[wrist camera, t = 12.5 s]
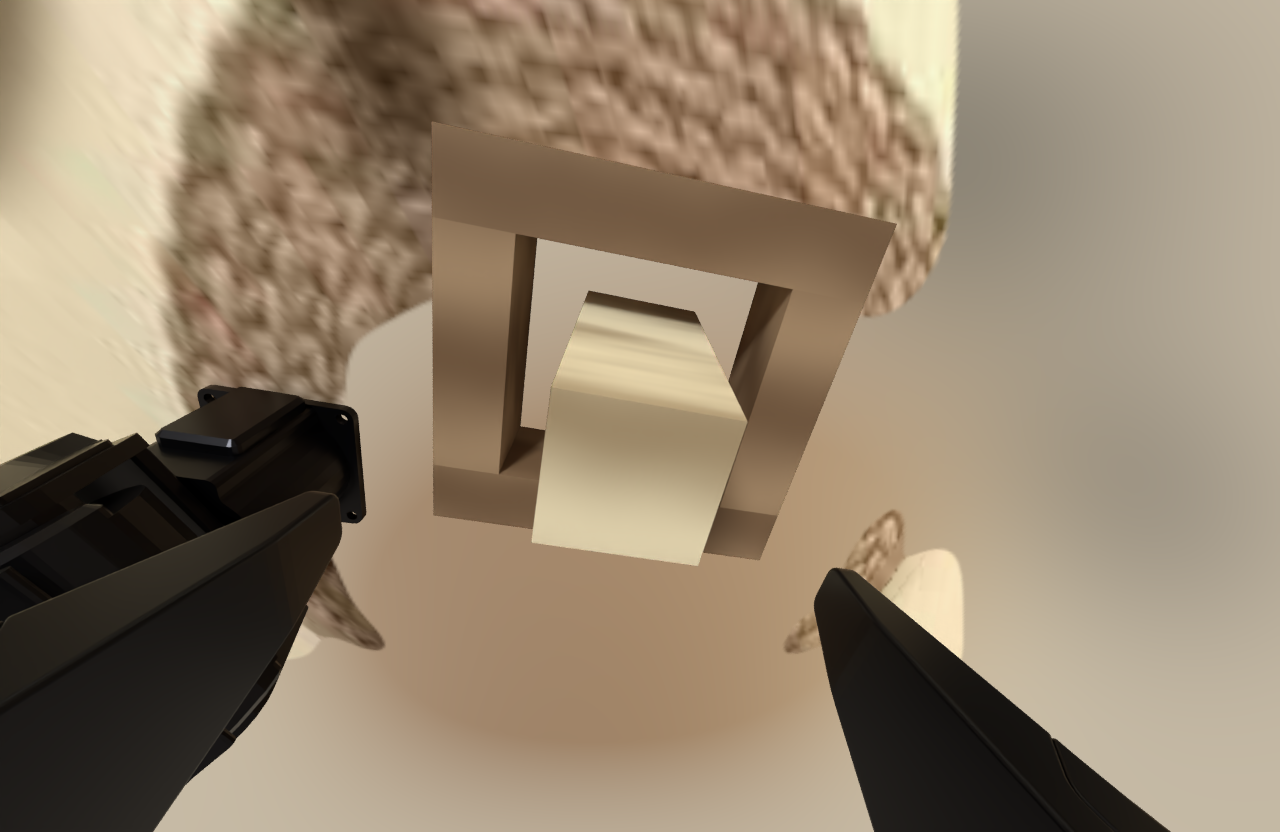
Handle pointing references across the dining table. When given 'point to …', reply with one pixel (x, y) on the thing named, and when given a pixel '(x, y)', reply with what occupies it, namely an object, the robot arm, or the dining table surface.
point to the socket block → (647, 229)
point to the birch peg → (636, 435)
